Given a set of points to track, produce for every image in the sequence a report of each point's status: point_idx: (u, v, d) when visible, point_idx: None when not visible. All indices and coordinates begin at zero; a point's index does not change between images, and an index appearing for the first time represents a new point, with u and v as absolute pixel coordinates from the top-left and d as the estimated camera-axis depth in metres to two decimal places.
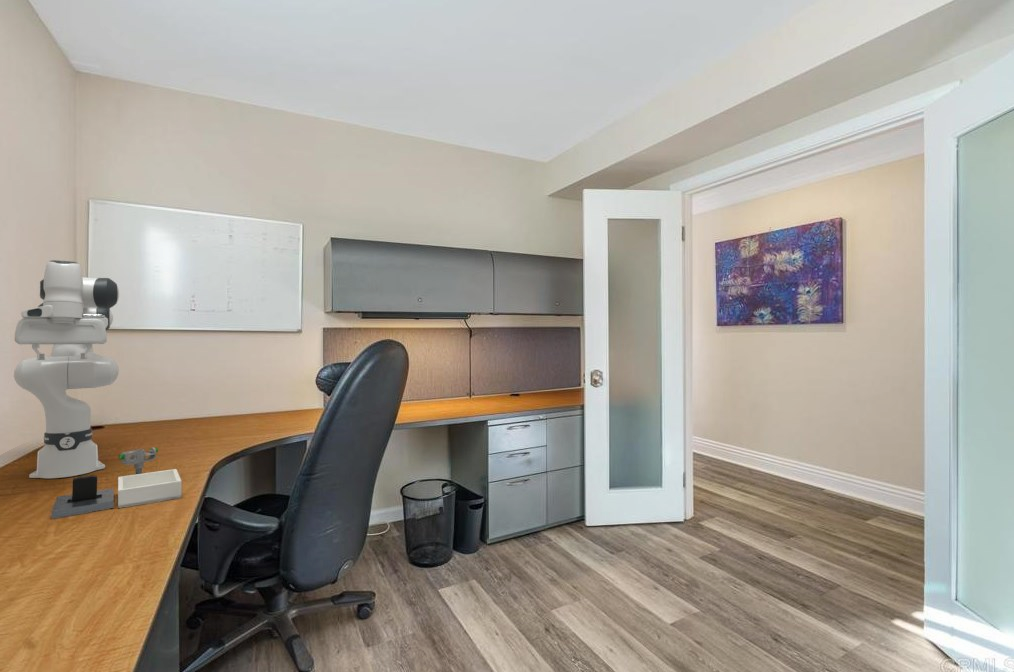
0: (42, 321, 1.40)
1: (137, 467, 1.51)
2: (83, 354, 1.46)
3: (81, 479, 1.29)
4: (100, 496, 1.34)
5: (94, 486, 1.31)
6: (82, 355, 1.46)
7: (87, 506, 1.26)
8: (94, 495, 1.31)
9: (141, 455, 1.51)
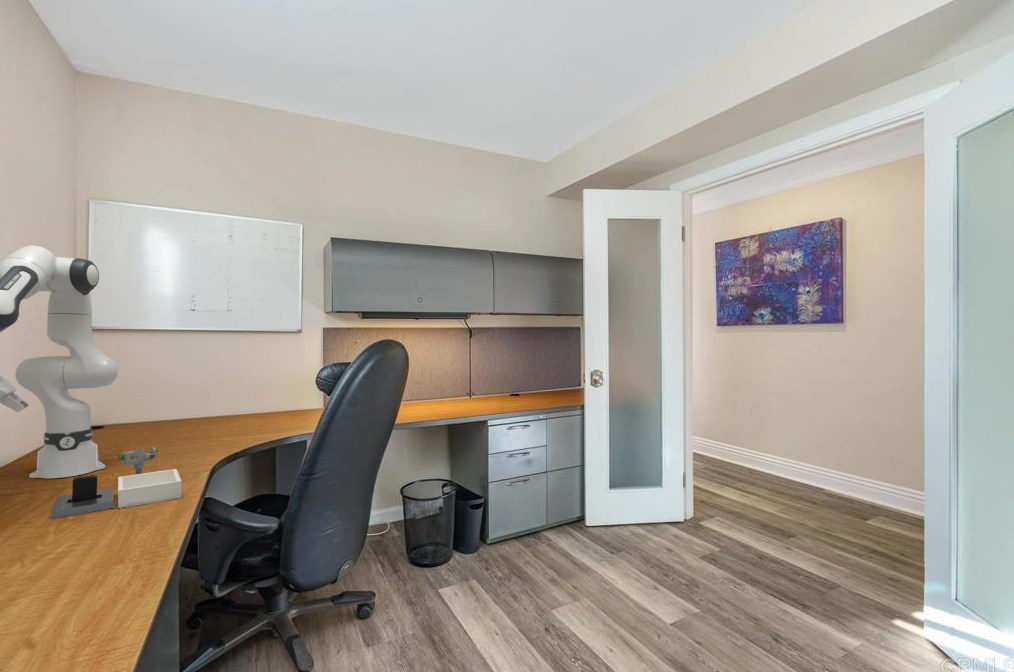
0: None
1: (137, 467, 1.51)
2: None
3: (81, 479, 1.29)
4: (100, 496, 1.34)
5: (94, 486, 1.31)
6: (14, 410, 1.19)
7: (87, 506, 1.26)
8: (94, 495, 1.31)
9: (141, 455, 1.51)
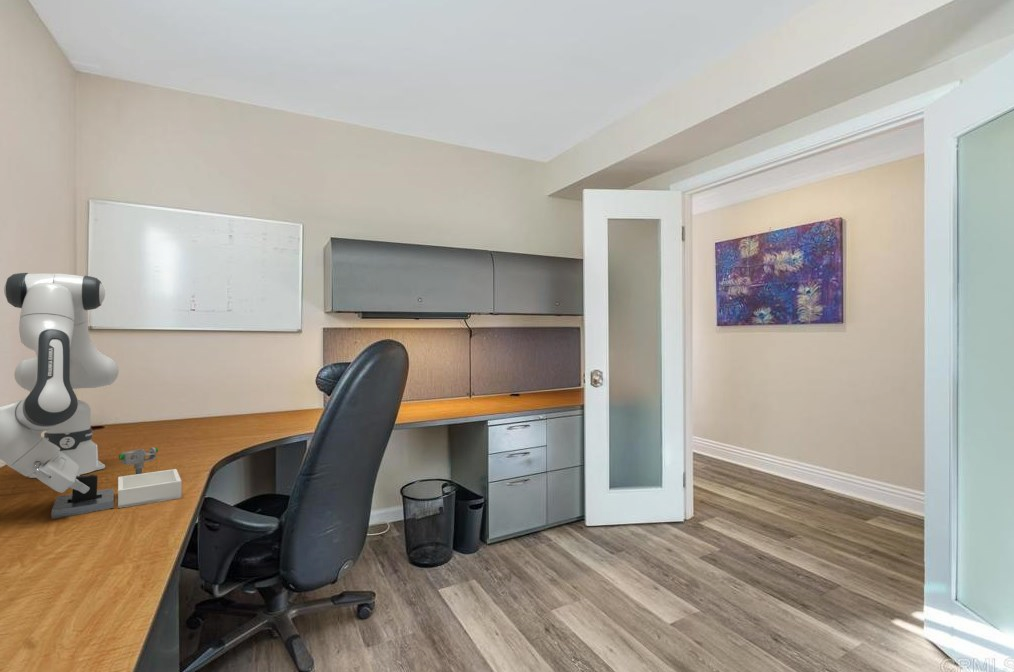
0: None
1: (137, 467, 1.51)
2: (79, 490, 1.29)
3: (81, 478, 1.30)
4: (100, 496, 1.34)
5: (94, 485, 1.31)
6: None
7: (87, 506, 1.26)
8: (94, 494, 1.31)
9: (141, 455, 1.51)
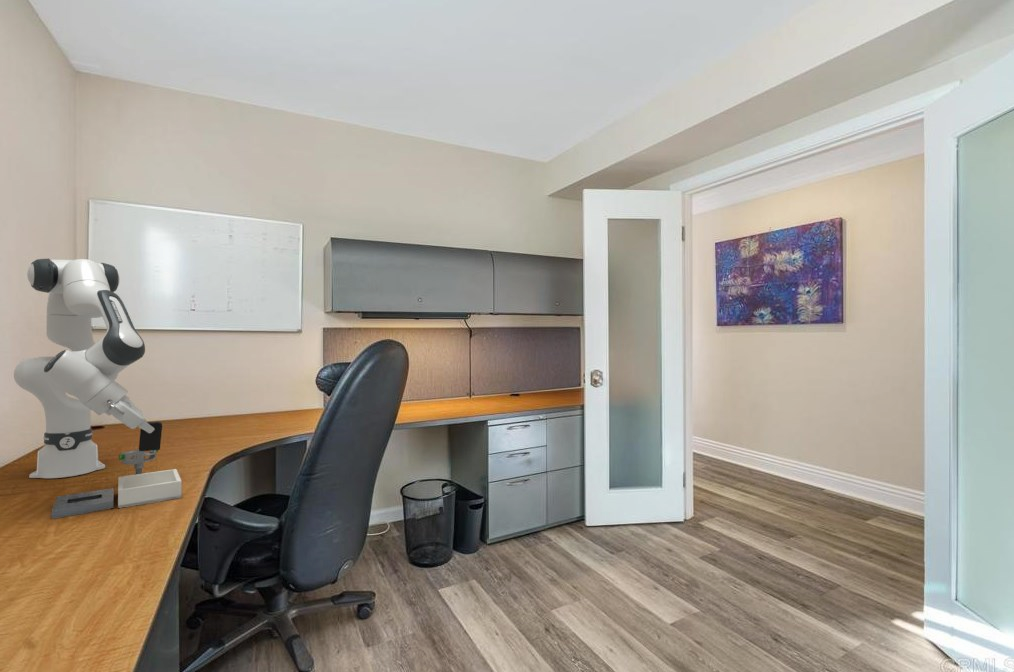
0: None
1: (137, 467, 1.51)
2: (145, 430, 1.38)
3: None
4: (100, 496, 1.34)
5: (159, 431, 1.40)
6: None
7: (87, 506, 1.26)
8: (159, 440, 1.40)
9: (141, 455, 1.51)
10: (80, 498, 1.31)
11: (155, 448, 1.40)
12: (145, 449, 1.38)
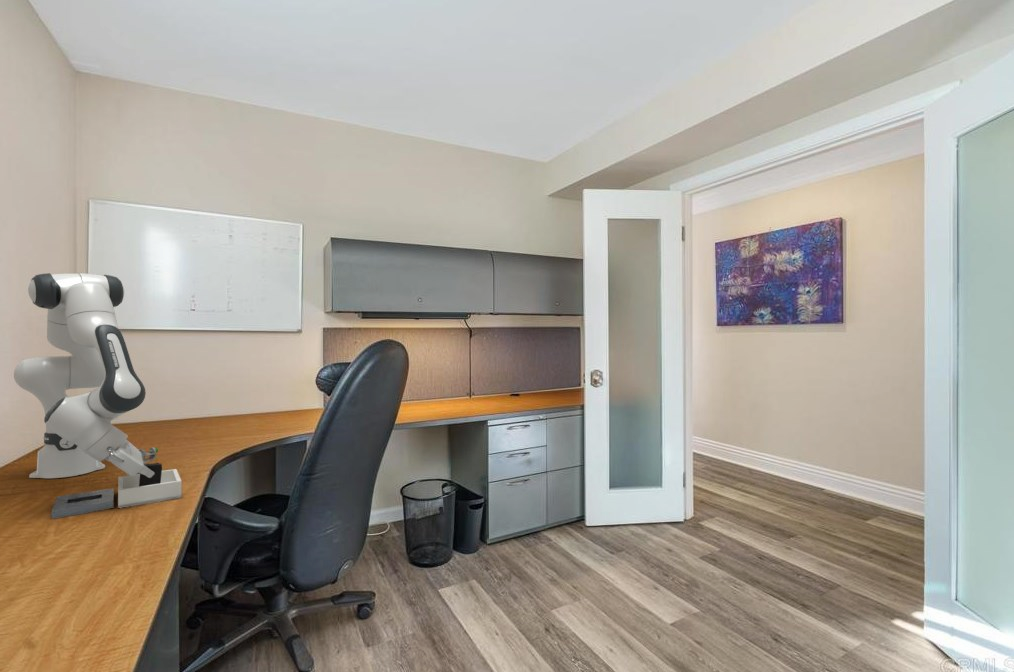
0: None
1: None
2: None
3: (148, 466, 1.38)
4: (100, 496, 1.34)
5: (159, 473, 1.40)
6: None
7: (87, 506, 1.26)
8: (158, 482, 1.40)
9: None
10: (80, 498, 1.31)
11: None
12: None
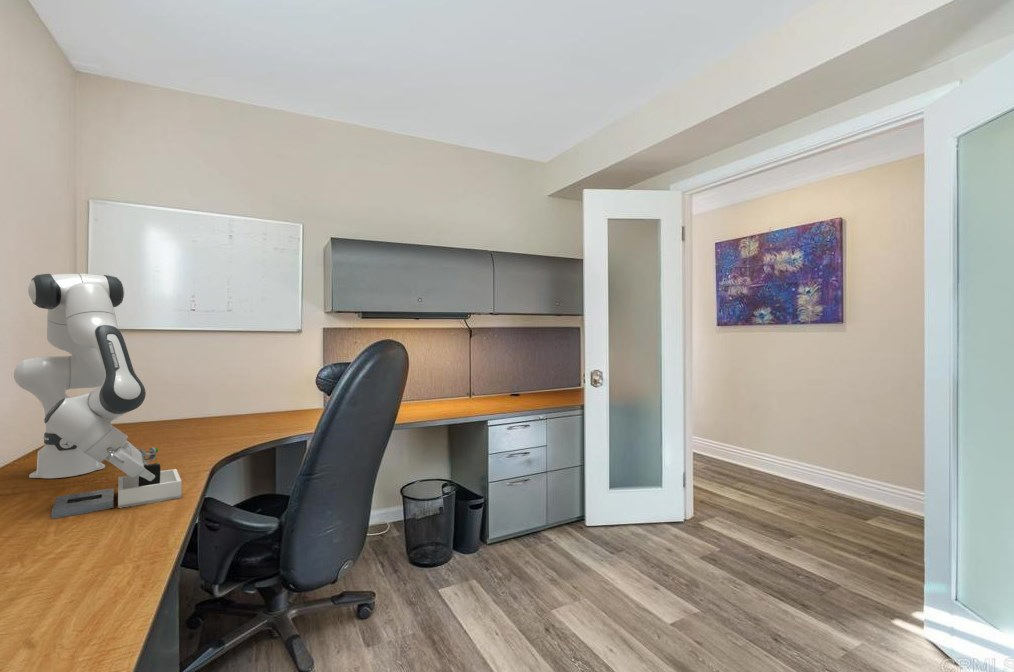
0: None
1: None
2: None
3: (146, 467, 1.39)
4: (100, 496, 1.34)
5: (158, 473, 1.40)
6: None
7: (87, 506, 1.26)
8: (158, 482, 1.40)
9: None
10: (80, 498, 1.31)
11: None
12: None
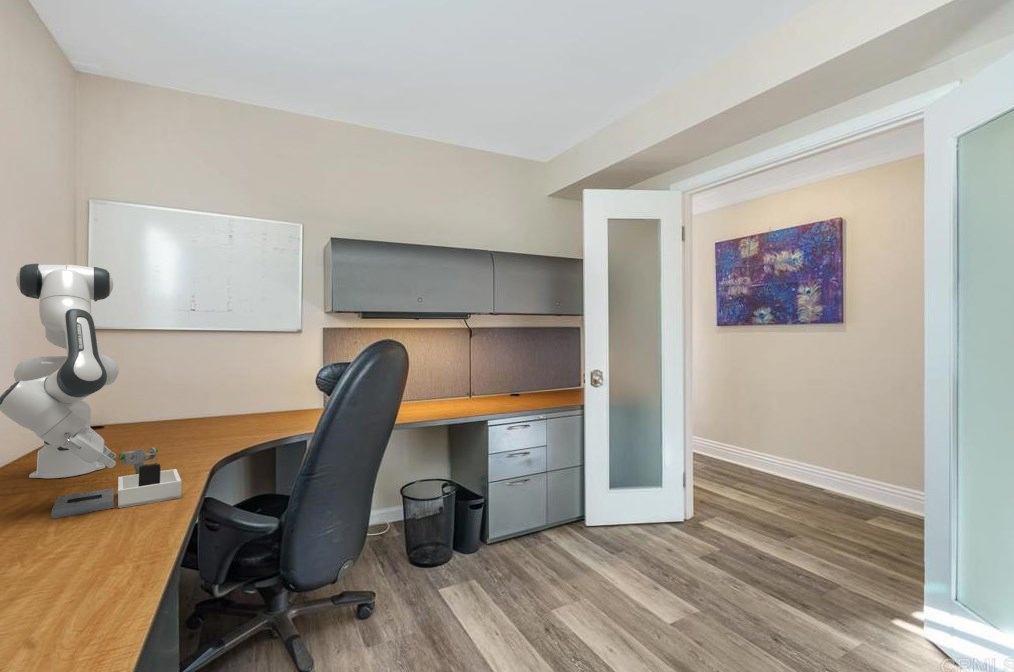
0: None
1: (137, 467, 1.51)
2: None
3: (146, 467, 1.39)
4: (100, 496, 1.34)
5: (158, 473, 1.40)
6: None
7: (87, 506, 1.26)
8: (158, 482, 1.40)
9: (141, 455, 1.51)
10: (80, 498, 1.31)
11: None
12: None
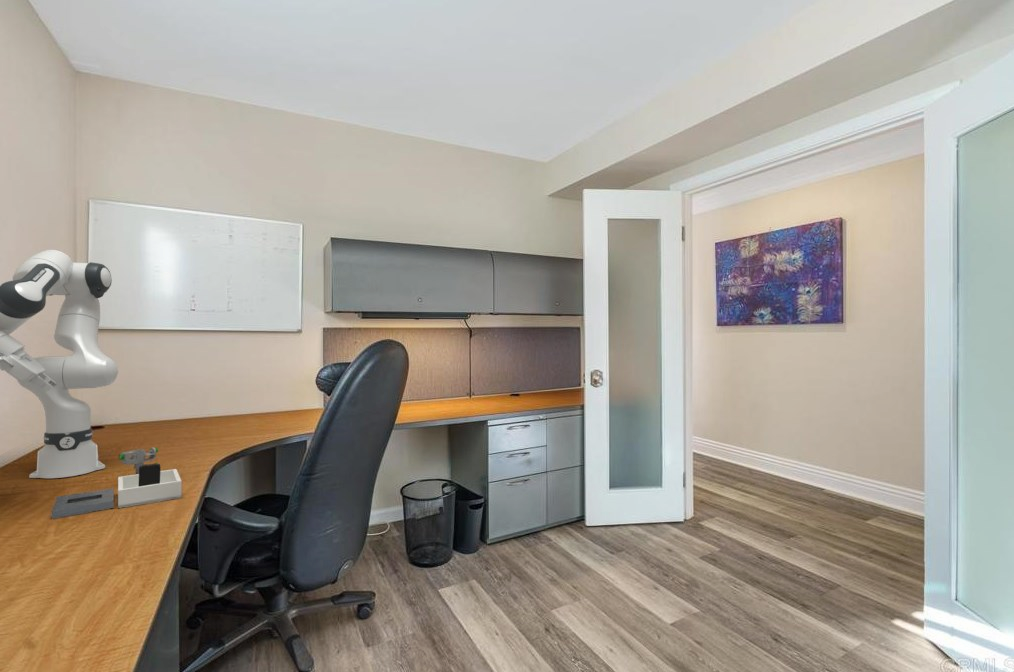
0: None
1: (137, 467, 1.51)
2: (42, 388, 1.30)
3: (146, 467, 1.39)
4: (100, 496, 1.34)
5: (158, 473, 1.40)
6: None
7: (87, 506, 1.26)
8: (158, 482, 1.40)
9: (141, 455, 1.51)
10: (80, 498, 1.31)
11: None
12: None
